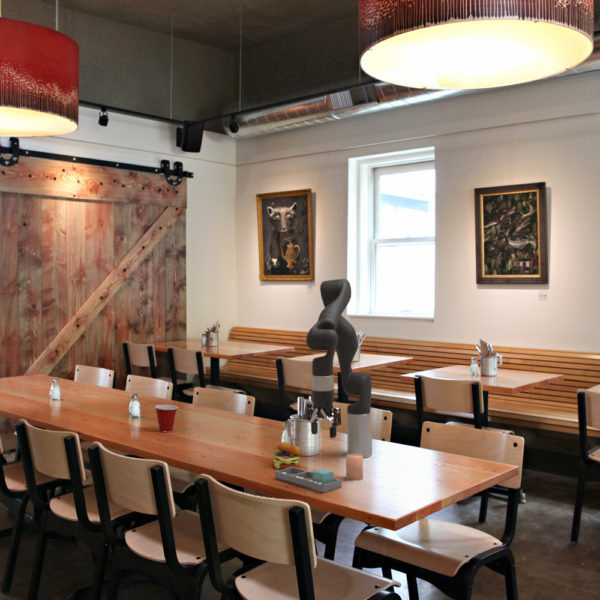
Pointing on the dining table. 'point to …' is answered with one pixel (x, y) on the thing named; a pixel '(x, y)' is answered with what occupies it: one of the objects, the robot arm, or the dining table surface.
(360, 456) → the terracotta jar
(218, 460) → the dining table surface
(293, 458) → the cheeseburger
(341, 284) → the robot arm
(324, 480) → the teal block
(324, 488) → the slot tray
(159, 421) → the plastic cup
